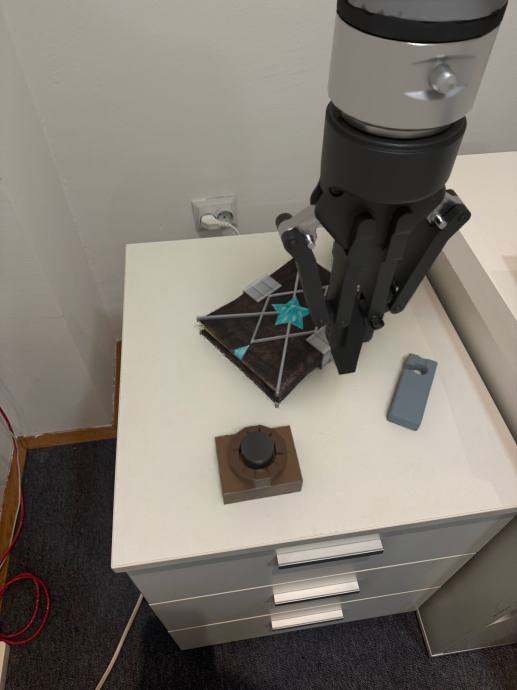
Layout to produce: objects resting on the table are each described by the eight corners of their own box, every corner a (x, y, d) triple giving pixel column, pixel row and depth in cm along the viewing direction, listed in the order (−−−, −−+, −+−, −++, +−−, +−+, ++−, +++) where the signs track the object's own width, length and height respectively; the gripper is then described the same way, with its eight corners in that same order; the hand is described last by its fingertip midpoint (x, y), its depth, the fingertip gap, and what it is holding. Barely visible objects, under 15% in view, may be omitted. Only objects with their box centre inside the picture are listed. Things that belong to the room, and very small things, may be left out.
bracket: (386, 421, 62) (389, 413, 60) (405, 359, 67) (409, 351, 66) (416, 432, 61) (421, 425, 59) (434, 369, 66) (438, 361, 65)
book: (277, 409, 63) (278, 389, 59) (196, 334, 70) (192, 311, 66) (383, 321, 71) (390, 298, 67) (300, 263, 79) (303, 239, 75)
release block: (288, 437, 60) (290, 417, 56) (301, 491, 56) (304, 474, 52) (216, 448, 59) (213, 429, 55) (224, 504, 55) (221, 488, 51)
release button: (270, 435, 55) (270, 428, 54) (276, 465, 53) (277, 458, 52) (239, 441, 55) (238, 433, 54) (244, 470, 53) (243, 464, 51)
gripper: (296, 158, 23) (283, 409, 42) (548, 125, 24) (426, 382, 43) (262, 85, 27) (264, 342, 46) (477, 61, 29) (394, 319, 48)
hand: (342, 361), depth 45 cm, fingers closed
